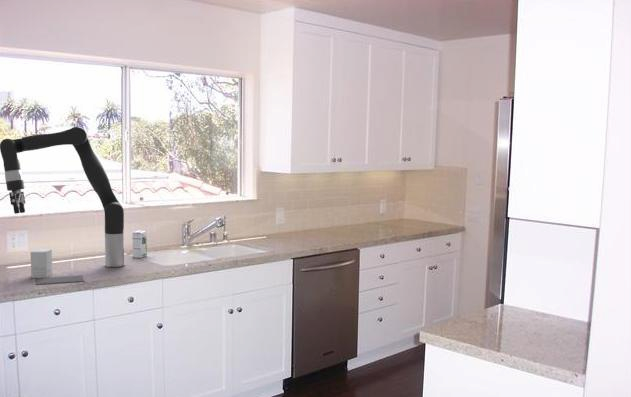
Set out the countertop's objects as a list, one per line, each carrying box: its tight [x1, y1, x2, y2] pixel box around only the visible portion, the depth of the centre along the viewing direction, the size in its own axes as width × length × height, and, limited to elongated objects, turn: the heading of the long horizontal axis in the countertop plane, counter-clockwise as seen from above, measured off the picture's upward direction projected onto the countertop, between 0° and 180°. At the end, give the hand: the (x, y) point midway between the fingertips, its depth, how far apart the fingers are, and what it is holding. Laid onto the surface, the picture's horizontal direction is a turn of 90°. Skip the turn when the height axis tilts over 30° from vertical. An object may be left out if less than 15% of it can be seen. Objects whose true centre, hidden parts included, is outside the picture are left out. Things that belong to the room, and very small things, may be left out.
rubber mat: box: [35, 275, 84, 286], centre depth 273 cm, size 20×12×1 cm, turn 113°
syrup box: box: [131, 230, 148, 259], centre depth 331 cm, size 6×6×14 cm
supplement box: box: [29, 248, 54, 279], centre depth 280 cm, size 7×7×13 cm
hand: (19, 213), depth 285 cm, fingers open, 8 cm apart
